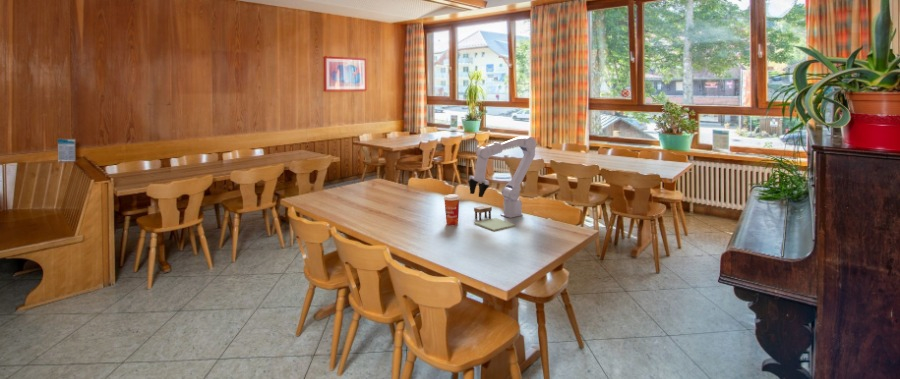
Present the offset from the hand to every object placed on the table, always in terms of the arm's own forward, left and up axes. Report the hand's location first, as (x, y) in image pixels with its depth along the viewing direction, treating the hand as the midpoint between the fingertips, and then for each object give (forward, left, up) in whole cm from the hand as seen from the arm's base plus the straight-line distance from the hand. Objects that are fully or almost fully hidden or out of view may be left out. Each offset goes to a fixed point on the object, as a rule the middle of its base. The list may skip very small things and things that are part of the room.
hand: (476, 195), depth 253 cm
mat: (-1, +14, -13) cm, 19 cm away
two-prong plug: (-4, 0, -13) cm, 14 cm away
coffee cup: (+15, -1, -13) cm, 20 cm away
